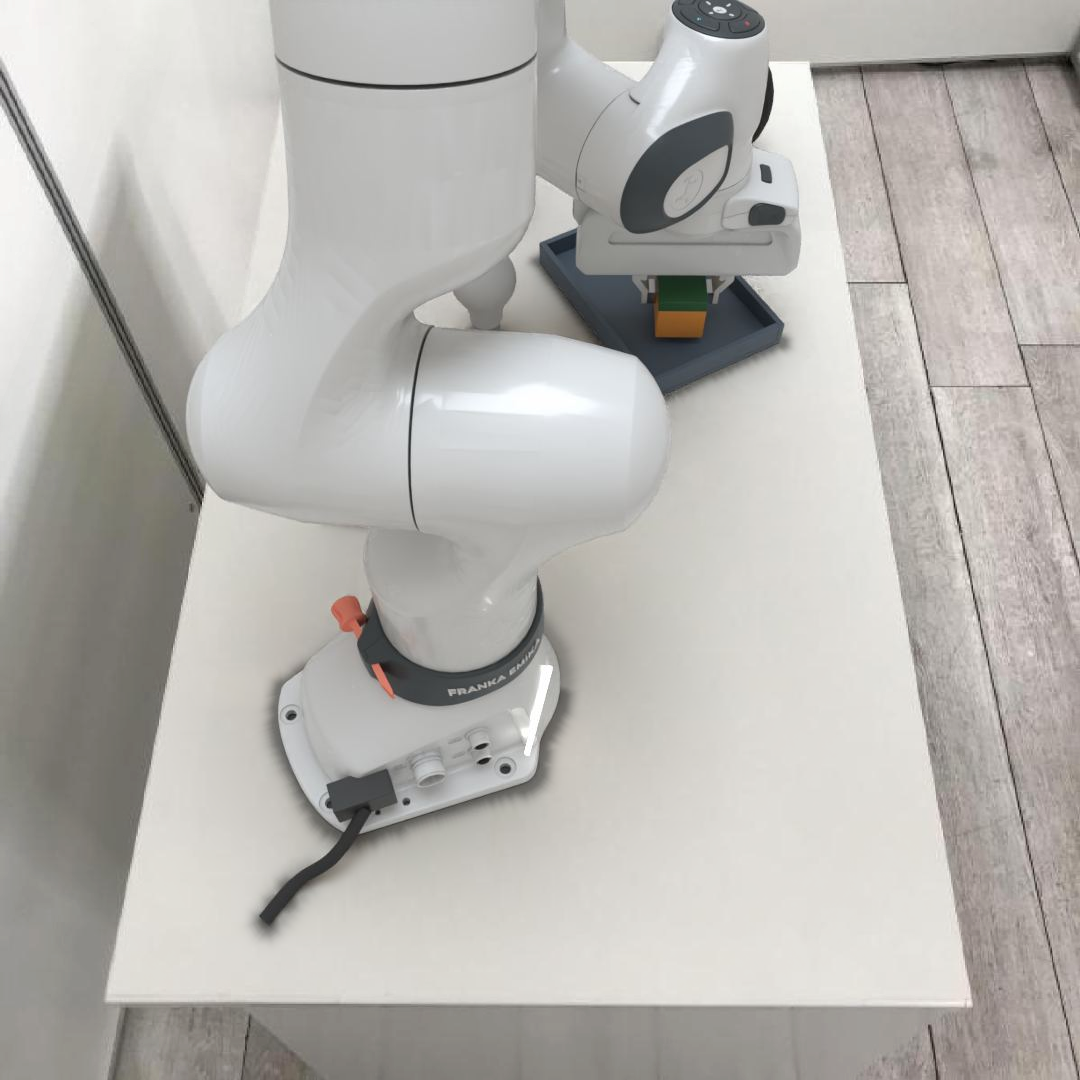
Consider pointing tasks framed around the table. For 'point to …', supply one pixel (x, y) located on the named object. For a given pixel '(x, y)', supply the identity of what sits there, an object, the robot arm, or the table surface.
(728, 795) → the table surface
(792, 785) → the table surface
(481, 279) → the lightbulb
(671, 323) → the sponge
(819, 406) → the table surface
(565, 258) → the tray
